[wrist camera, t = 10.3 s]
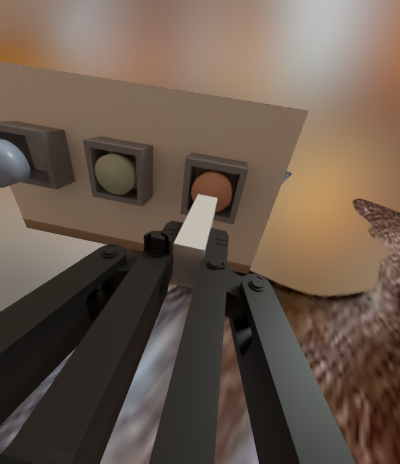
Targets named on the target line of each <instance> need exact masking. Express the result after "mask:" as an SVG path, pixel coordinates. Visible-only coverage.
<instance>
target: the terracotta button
mask: <svg viewBox="0 0 400 464" xmlns="http://www.w3.org/2000/svg"><path fill="white" fill-rule="evenodd" d="M198 194H200V195H205V196H210V197H215V198H218V199H217V204H216V209H215V212H219V211H221V210H223V209H224V208H226V207H227V206H228V204H229V203H230V201H231V197H232V182H231V179H230V177H229V176H228V175H227V174H226V173H225V172H222V171H217V170H211V169H207V170H204V171H203V172H201V173H200V174H199V175H198V177H197V179H196V180H195V182H194V184H193V186H192V190H191V195H192V199H193V201H195V199H196V197H197V195H198Z"/></svg>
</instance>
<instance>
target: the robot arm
mask: <svg viewBox="0 0 400 464" xmlns="http://www.w3.org/2000/svg"><path fill="white" fill-rule="evenodd" d="M217 199H218V198H215V197H210V196H205V195H200V194H198V195H197V197H196V199H195V201H194V203H193V205H192V207H191V209H190V211H189V213H188V215H187V217H186V219H185V222H184V223H182V222H177V221H170V222H169V223H167V224H166V225H165V227H164V229H163V230H162V231H151V232H148V233H146V234H145V235H144V250H143V252H137V253H126V250H125V248H124V247H122V246H121V245H117V244H109V245H105V246H103V247H100V248H99V249H97V250H96V251H94V252H93V253H91V254H89V255H88V256H86V257H85V258H83V259H82V260H80V261H79V262H77V263H76V264H74V265H72V266H71V267H69V268H68V269H66V270H65V271H63V272H62V273H60V274H58V275H57V276H55V277H54V278H52V279H51V280H49V281H48V282H46V283H44V284H43V285H41V286H40V287H38V288H37V289H35V290H34V291H32V292H31V293H29V294H28V295H26V296H24V297H23V298H21V299H20V300H18V301H17V302H15V303H13V304H12V305H11V306H9V307H7V308H6V309H4V310H3V311H1V312H0V425H1V424H2V423H3V422H4V421H5V420H6V419H7V418H8V417H9V416H10V415H11V414H12V413H13V412H14V411H15V410H16V409H17V407H18V406H19V405H20V404H21V403H22V402H23V401H24V400H25V399H26V398H27V397H28V396H29V395H30V394H31V393H32V392H33V391H34V390H35V389H36V388H37V387H38V386H39V385H40V384H41V383H42V382H43V381H44V380H45V379H46V378H47V377H48V376H49V375H50V374H51V373H52V371H53V370H54V369H55V368H56V367H57V366H58V365H59V364H60V363H61V362H62V361H63V360H64V359H65V358H66V357H67V356H68V355H69V354H70V353H71V352H72V351H73V350H74V349H75V348H76V347H77V348H76V349H75V351H74V352H73V354H72V355H71V357H70V358H69V359H68V361H67V362H66V364H65V365H64V367H63V368H62V370H61V371H60V373H59V374H58V376H57V377H56V378H55V380H54V381H53V383H52V384H51V386H50V387H49V389H48V390H47V392H46V393H45V394H44V396H43V397H42V399H41V400H40V402H39V403H38V405H37V406H36V408H35V409H34V411H33V412H32V413H31V415H30V416H29V418H28V419H27V421H26V422H25V424H24V425H23V427H22V428H21V429H20V431H19V432H18V434H17V435H16V437H15V438H14V439H13V441H12V442H11V443H10V445H9V446H8V447H7V448H6V449H5V450H4V451H3V452H2V453H1V454H0V464H100V461H101V459H102V456H103V454H104V451H105V449H106V446H107V444H108V441H109V439H110V436H111V433H112V431H113V428H114V426H115V423H116V421H117V418H118V416H119V413H120V411H121V408H122V406H123V403H124V400H125V398H126V395H127V393H128V390H129V388H130V385H131V383H132V380H133V378H134V375H135V373H136V370H137V367H138V365H139V362H140V360H141V357H142V355H143V352H144V350H145V347H146V345H147V342H148V340H149V337H150V334H151V332H152V329H153V327H154V324H155V322H156V319H157V317H158V314H159V312H160V309H161V307H162V304H163V301H164V299H165V296H166V294H167V291H168V283H169V281H170V279H171V282H170V283H171V284H175V285H179V286H184V287H188V288H192V289H194V291H193V295H192V299H191V303H190V307H189V310H188V314H187V318H186V322H185V326H184V330H183V334H182V338H181V342H180V345H179V349H178V353H177V357H176V361H175V365H174V369H173V373H172V377H171V380H170V384H169V388H168V392H167V396H166V400H165V404H164V408H163V411H162V415H161V419H160V423H159V427H158V431H157V435H156V439H155V443H154V446H153V450H152V454H151V458H150V462H149V464H214V456H215V442H216V428H217V415H218V401H219V387H220V373H221V360H222V346H223V332H224V318H225V316H227V317H229V321H230V326H231V331H232V336H233V340H234V345H235V350H236V355H237V360H238V364H239V369H240V374H241V379H242V384H243V389H244V393H245V398H246V403H247V408H248V413H249V417H250V422H251V427H252V432H253V437H254V442H255V446H256V451H257V456H258V461H259V464H356V463H355V461H354V459H353V457H352V454H351V452H350V450H349V448H348V446H347V444H346V442H345V440H344V438H343V435H342V433H341V431H340V429H339V427H338V425H337V423H336V421H335V419H334V417H333V414H332V412H331V410H330V408H329V406H328V404H327V402H326V400H325V398H324V396H323V393H322V391H321V389H320V387H319V385H318V383H317V381H316V379H315V377H314V375H313V372H312V370H311V368H310V366H309V364H308V362H307V360H306V358H305V356H304V354H303V351H302V349H301V347H300V345H299V343H298V341H297V339H296V337H295V335H294V333H293V330H292V328H291V326H290V324H289V322H288V320H287V318H286V316H285V314H284V312H283V309H282V307H281V305H280V303H279V301H278V299H277V297H276V295H275V293H274V291H273V288H272V286H271V285H270V283H269V282H268V281H267V280H266V279H265V278H264V277H261V276H259V275H256V274H248V275H246V276H244V277H241V276H239V275H237V274H236V273H234V272H233V271H231V270H230V268H229V267H228V264H227V255H228V243H229V235H228V234H227V232H226V231H223V230H218V229H214V228H212V224H213V219H214V214H215V209H216V204H217Z"/></svg>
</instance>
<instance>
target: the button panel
mask: <svg viewBox="0 0 400 464" xmlns="http://www.w3.org/2000/svg"><path fill="white" fill-rule="evenodd" d="M307 114H308V111H307V110H301V109H295V108H289V107H282V106H276V105H270V104H263V103H257V102H250V101H245V100H238V99H232V98H226V97H219V96H213V95H206V94H200V93H194V92H188V91H182V90H175V89H169V88H162V87H156V86H150V85H144V84H138V83H131V82H125V81H119V80H112V79H106V78H100V77H93V76H87V75H81V74H75V73H68V72H62V71H56V70H50V69H43V68H37V67H30V66H24V65H18V64H11V63H6V62H0V139H3V140H6V141H8V142H10V143H12V144H13V145H15V146H16V147H17V148H18V149H19V150H20V151H21V152H22V153H23V155H24V156H25V158H26V159H27V161H28V164H29V167H30V176H29V178H28V179H27V180H25V181H22V182H19V183H16V184H13V185H10V187H11V189H12V192H13V194H14V197H15V199H16V202H17V204H18V207H19V209H20V212H21V214H22V216H23V219H24V221H25V224H26V226H27V228H32V229H37V230H41V231H46V232H51V233H55V234H60V235H65V236H70V237H74V238H79V239H84V240H89V241H94V242H98V243H103V244H107V245H109V244H117V245H121V246H122V247H124V248H126V249H131V250H136V251H141V252H143V250H144V235H145V234H146V233H148V232H151V231H162V230H163V229H164V227H165V225H166V224H167V223H169V222H170V221H177V222H182V223H184V222H185V219H186V217H187V215H188V213H189V211H190V209H191V207H192V205H193V203H194V201H193V199H192V195H191V190H192V186H193V184H194V182H195V180H196V179H197V177H198V175H199V174H200V173H201V172H203V171H204V170H207V169H211V170H217V171H222V172H225V173H226V174H227V175H228V176H229V177H230V179H231V182H232V197H231V201H230V203H229V204H228V206H227V207H226V208H224V209H223V210H221V211H219V212H215V214H214V219H213V224H212V228H214V229H218V230H223V231H226V232H227V234H228V235H229V243H228V255H227V264H228V267H229V268H230V270H231V271H235V272H240V273H245V274H248V272H249V270H250V267H251V264H252V262H253V259H254V256H255V253H256V251H257V248H258V246H259V243H260V240H261V238H262V235H263V232H264V229H265V227H266V224H267V221H268V219H269V216H270V213H271V211H272V208H273V205H274V202H275V200H276V197H277V195H278V192H279V189H280V187H281V184H282V181H283V179H284V176H285V173H286V171H287V168H288V165H289V162H290V160H291V157H292V154H293V152H294V149H295V146H296V144H297V141H298V138H299V136H300V133H301V130H302V127H303V125H304V122H305V119H306V117H307ZM113 152H118V153H123V154H129V155H131V156H132V157H133V158H134V159H135V160H136V176H137V186H135V187H134V188H133V189H131V190H130V191H129V192H127V193H125V194H122V195H116V194H112V193H110V192H108V191H107V190H105V189H104V188H103V187H102V186H101V185H100V183H99V182H98V180H97V178H96V174H95V165H96V162H97V160H98V159H99V158H100V157H102V156H104V155H107V154H110V153H113Z"/></svg>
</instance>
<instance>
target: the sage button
mask: <svg viewBox="0 0 400 464" xmlns="http://www.w3.org/2000/svg"><path fill="white" fill-rule="evenodd" d="M95 174H96V178H97V180H98V182H99V183H100V185H101V186H102V187H103V188H104V189H105V190H107V191H108V192H110V193H112V194H116V195H122V194H125V193H127V192H129V191H130V190H131V189H133V188H134V187H135V186H137V176H136V160H135V159H134V158H133V157H132V156H131V155H129V154H123V153H118V152H113V153H110V154H107V155H104V156H102V157H100V158H99V159H98V160H97V162H96V165H95Z"/></svg>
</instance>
